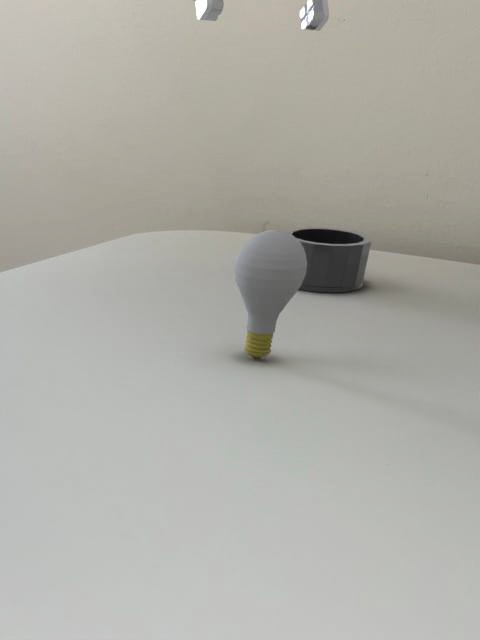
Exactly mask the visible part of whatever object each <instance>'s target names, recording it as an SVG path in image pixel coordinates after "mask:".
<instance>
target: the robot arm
mask: <svg viewBox="0 0 480 640" xmlns="http://www.w3.org/2000/svg"><path fill="white" fill-rule="evenodd" d="M192 1H193V2H194V5H195V13H196V19H197V20H198V21H212V22H216V21H217V20H218V19H219V16H220V15H221V14H222V13H223V10H224V5H225V3H224V0H192ZM299 18H300V21H301V25H300V26H301V29H302V30H305V31H317V32H319V31H321V30H322V29H323V27H325V25H326V24H327V23H328V21H329V18H330V11H329V2H328V0H307V1H306V4H305V5H303V6H302V8H301V9H300V10H299Z"/></svg>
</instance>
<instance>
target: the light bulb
mask: <svg viewBox="0 0 480 640" xmlns="http://www.w3.org/2000/svg"><path fill="white" fill-rule="evenodd" d="M306 268H307V259H306V253H305V250H304V248H303V246H302V244H301V243H300V241H299V240H298V239H297V238H295V237H294V236H293V235H291V234H289V233H287V232H285V231H284V230H280V229H269V230H265V231H262V232H259V233H257V234H255V235H253V236H251V238H249V239H248V240H247V241H246V242H245V243H244V244H243V246H242V247H241V248H240V251H239V252H238V255H237V257H236V261H235V267H234V275H235V282H236V285H237V288H238V291H239V293H240V296H241V298H242V301H243V303H244V306H245V309H246V312H247V321H246V322H247V323H246V329H245V330H246V335H247V336H246V341H245V345H244V351H245V353H246V354H247V355H248V356H250V357H251V358H252V359H253V360H261V359H262V358H263V357H267V356H269V355H270V354H271V352H272V349H271V348H272V343H273V338H274V333H275V332H276V327H277V321H278V319H279V316H280V314H281V313H282V311H283V310H284V309H285V307H286V306H287V305H288V303H289V302H291V300H292V299H293V297H294V296H295V295H296V293H297V292H298V291H299V290H300V289H299V288H300V286H301V285H302V282H303V280H304V277H305V275H306Z"/></svg>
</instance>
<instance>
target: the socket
mask: <svg viewBox="0 0 480 640" xmlns="http://www.w3.org/2000/svg"><path fill="white" fill-rule="evenodd" d="M284 232H287V233H289V234H291V235H293V236H294V237H295V238H297V239H298V240H299V241H300V243H301V244H302V246H303V248H304V250H305V253H306V259H307V268H306V275H305V277H304V280H303V282H302V285H301V286H300V288H299V289H298V290H301V291H307V292H315V293H327V294H328V293H330V294H331V293H332V294H333V293H335V294H337V293H349V292H353V291H357V290H359V289H361V288H362V287H363V283H364V279H365V275H366V270H367V265H368V264H367V263H368V262H369V261H368V260H369V257H370V256H369V255H370V251H371V246H372V241H373V238H372V237H370V236H369V235H367V234H366V233H362V232H358V231H355V230H350V229H343V228H334V227H322V226H320V227H319V226H318V227H317V226H306V227H295V228H292V229H288V230H285V231H284Z"/></svg>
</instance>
